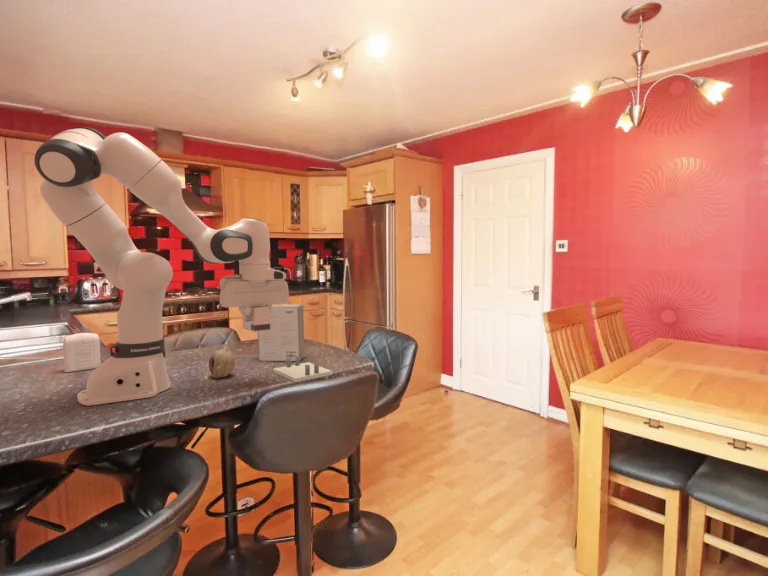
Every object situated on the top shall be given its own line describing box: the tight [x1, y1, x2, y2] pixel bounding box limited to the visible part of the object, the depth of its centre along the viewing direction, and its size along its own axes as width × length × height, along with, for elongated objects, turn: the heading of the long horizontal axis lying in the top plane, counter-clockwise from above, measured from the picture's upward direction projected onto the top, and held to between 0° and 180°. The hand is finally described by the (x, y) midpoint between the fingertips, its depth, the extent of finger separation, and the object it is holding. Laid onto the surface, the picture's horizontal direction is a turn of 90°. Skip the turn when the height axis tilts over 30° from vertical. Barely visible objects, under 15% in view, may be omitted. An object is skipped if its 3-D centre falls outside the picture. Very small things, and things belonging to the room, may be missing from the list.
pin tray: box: [272, 356, 333, 383], centre depth 139 cm, size 13×15×4 cm
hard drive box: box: [257, 304, 306, 362], centre depth 159 cm, size 16×8×20 cm, turn 84°
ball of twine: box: [208, 346, 236, 379], centre depth 137 cm, size 9×8×10 cm
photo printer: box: [62, 332, 102, 373], centre depth 145 cm, size 10×4×12 cm, turn 135°
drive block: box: [242, 305, 270, 333], centre depth 128 cm, size 5×9×7 cm, turn 40°
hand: (256, 320), depth 129 cm, fingers closed on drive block, 4 cm apart
